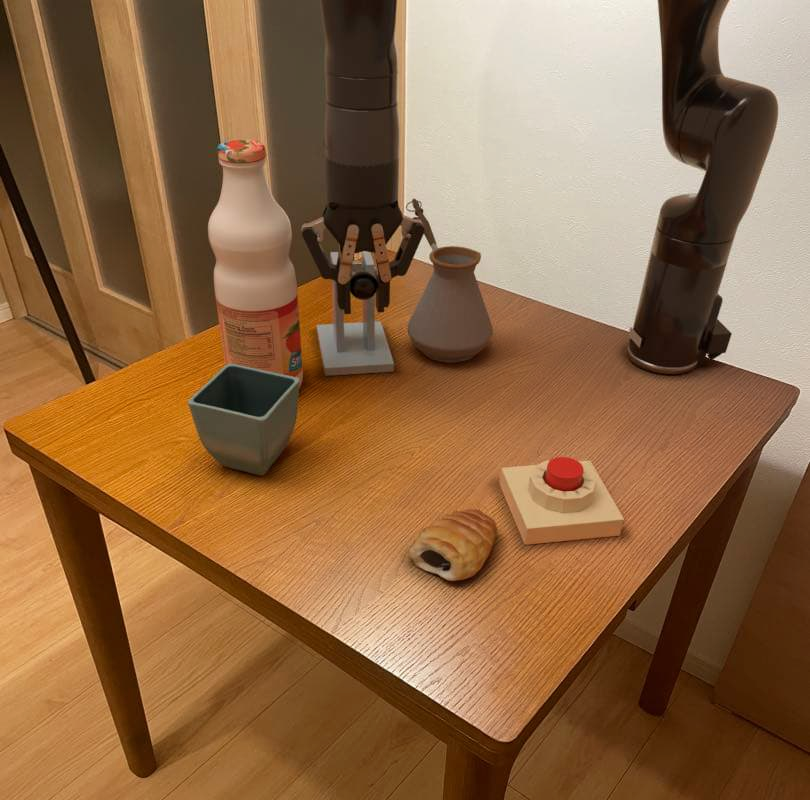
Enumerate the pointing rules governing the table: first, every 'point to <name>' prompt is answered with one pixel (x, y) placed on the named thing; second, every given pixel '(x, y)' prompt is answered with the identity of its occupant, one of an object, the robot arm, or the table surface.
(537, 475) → the button block
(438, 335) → the coffee pot
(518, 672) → the table surface
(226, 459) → the flower pot
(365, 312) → the bracket
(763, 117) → the robot arm
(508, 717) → the table surface
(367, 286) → the lever
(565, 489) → the button
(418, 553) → the pastry
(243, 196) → the fruit juice
